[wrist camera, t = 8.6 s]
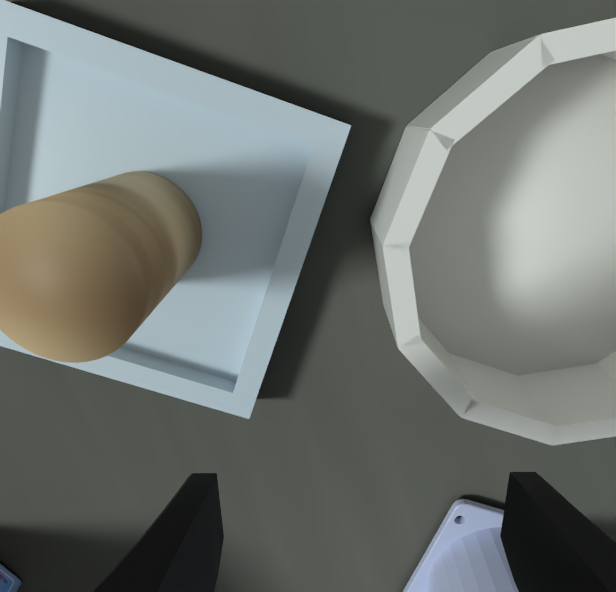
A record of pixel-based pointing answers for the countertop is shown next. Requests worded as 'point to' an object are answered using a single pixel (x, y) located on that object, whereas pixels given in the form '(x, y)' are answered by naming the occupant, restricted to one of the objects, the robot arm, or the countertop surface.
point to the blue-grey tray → (184, 173)
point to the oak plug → (93, 263)
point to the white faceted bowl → (511, 238)
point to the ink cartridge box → (8, 580)
